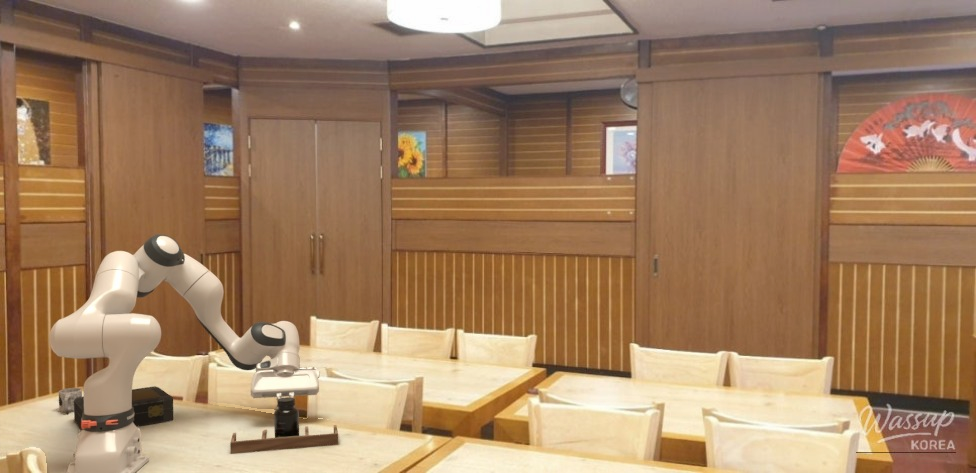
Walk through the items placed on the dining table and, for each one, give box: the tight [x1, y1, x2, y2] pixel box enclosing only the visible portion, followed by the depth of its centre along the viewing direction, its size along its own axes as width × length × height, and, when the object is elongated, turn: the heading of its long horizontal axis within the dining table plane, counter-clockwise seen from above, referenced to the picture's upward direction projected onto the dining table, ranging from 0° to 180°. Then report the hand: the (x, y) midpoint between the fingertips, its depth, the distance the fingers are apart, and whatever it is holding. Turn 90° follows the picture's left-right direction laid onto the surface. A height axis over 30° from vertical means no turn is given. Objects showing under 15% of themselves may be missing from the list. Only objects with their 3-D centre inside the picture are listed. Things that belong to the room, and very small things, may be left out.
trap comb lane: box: [229, 424, 339, 455], centre depth 211 cm, size 18×29×3 cm, turn 105°
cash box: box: [73, 385, 175, 431], centre depth 231 cm, size 25×20×8 cm
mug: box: [58, 387, 83, 414], centre depth 241 cm, size 10×7×7 cm
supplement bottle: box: [273, 396, 300, 438], centre depth 209 cm, size 7×7×12 cm
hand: (285, 407), depth 221 cm, fingers closed
